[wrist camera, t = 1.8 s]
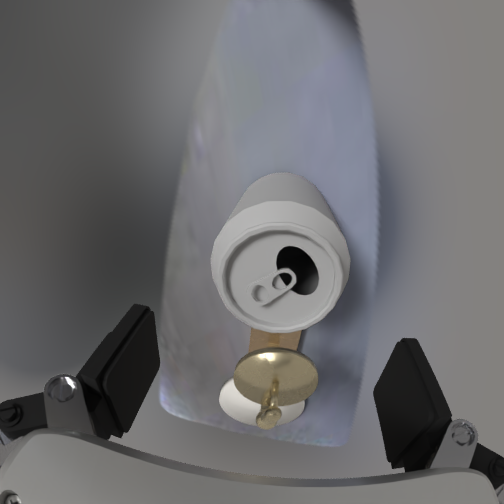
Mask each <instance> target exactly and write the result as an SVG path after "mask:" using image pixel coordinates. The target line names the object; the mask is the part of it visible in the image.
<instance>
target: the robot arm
mask: <svg viewBox="0 0 504 504" xmlns="http://www.w3.org/2000/svg"><path fill="white" fill-rule="evenodd" d="M159 367H160V357H159V350H158V342H157V335H156V326H155V317H154V312H153V311H150V308H149V307H148V306H143V305H139V304H134V305H133V306H132V307H131V308H130V310H129V311H128V312H127V313H126V315H125V316H124V317H123V318H122V320H121V321H120V322H119V324H118V325H117V326H116V327H115V329H114V330H113V331H112V332H110V333H109V334H108V335H107V336H106V337H105V338H104V340H103V341H102V342H101V344H100V345H99V346H98V348H97V349H96V350H95V351H94V353H93V354H92V355H91V357H90V358H89V359H88V361H87V362H86V363H85V365H84V366H83V368H82V369H81V370H80V371H79V373H78V374H77V376H76V377H74V376H72V375H69V374H59V375H56V376H54V377H52V378H50V379H49V380H48V381H47V382H46V384H45V387H44V392H42V393H38V394H34V395H29V396H25V397H20V398H16V399H11V400H7V401H4V402H2V403H1V404H0V504H504V458H503V457H502V456H500V455H498V454H496V453H495V452H493V451H491V450H489V449H488V448H486V447H484V446H483V445H481V444H479V443H477V441H478V433H477V430H476V428H475V427H474V426H473V425H472V423H470V422H469V421H467V420H463V419H457V420H454V421H453V422H452V419H451V416H452V414H451V411H450V409H449V407H448V404H447V402H446V400H445V397H444V395H443V393H442V390H441V388H440V386H439V384H438V381H437V379H436V377H435V375H434V373H433V371H432V368H431V366H430V365H429V363H428V360H427V358H426V356H425V354H424V352H423V350H422V348H421V346H420V344H419V342H418V340H417V339H415V338H403V339H401V341H400V342H397V344H396V345H395V348H394V350H393V352H392V354H391V356H390V358H389V360H388V362H387V364H386V366H385V369H384V370H383V372H382V374H381V376H380V378H379V380H378V382H377V384H376V386H375V388H374V391H373V395H374V400H375V404H376V408H377V413H378V417H379V421H380V426H381V431H382V436H383V440H384V445H385V450H386V456H387V460H388V462H391V466H392V469H396V468H402V467H404V469H405V473H398V474H390V475H381V476H371V477H361V478H343V479H298V478H279V477H266V476H257V475H247V474H241V473H234V472H227V471H221V470H215V469H210V468H204V467H199V466H195V465H190V464H186V463H182V462H178V461H174V460H170V459H166V458H163V457H159V456H156V455H152V454H149V453H145V452H141V451H139V450H135V449H132V448H129V447H126V446H123V445H120V444H117V443H114V442H112V441H108V439H109V438H110V436H111V435H113V436H116V437H119V438H121V437H122V435H123V433H124V432H125V433H127V432H128V431H129V430H130V428H131V426H132V423H133V421H134V419H135V417H136V415H137V413H138V411H139V409H140V407H141V405H142V402H143V400H144V398H145V396H146V394H147V392H148V390H149V388H150V386H151V384H152V382H153V380H154V378H155V376H156V374H157V372H158V370H159Z"/></svg>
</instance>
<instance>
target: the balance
mask: <svg viewBox="0 0 504 504" xmlns="http://www.w3.org/2000/svg"><path fill="white" fill-rule="evenodd" d="M301 331H302V330H299V331H296V332H292V333H269V332H265V331H262V330H258V329H254V328H251V336H250V345H249V353H248V354H246V355H245V356H244V357H242V358H241V359H240V360H239V362H238V363H237V365H236V367H235V372H234V377H233V380H234V385H235V387H236V389H237V390H238V391H239V392H240V394H242V395H243V396H244V397H245V398H247V399H249V400H250V401H253V402H255V403H258V404H261V406H260V412H259V413H258V414H257V416H256V424H257V425H258V427H260V428H262V429H265V430H268V429H271V428H273V427H274V426H275V425H276V424H277V421H278V420H279V419H280V418H281V416H282V412H281V410H280V408H278V406H288V405H293V404H296V403H299V402H301V401H303V400H305V399H307V398H308V397H309V396H311V395H312V393H313V392H314V391H315V390H316V388H317V385H318V372H317V368H316V366H315V364H314V363H313V361H312V360H311V359H310V358H309V357H307V356H306V355H304V354H302V353H300V352H298V351H297V347H298V343H299V339H300V335H301Z"/></svg>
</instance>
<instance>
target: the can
mask: <svg viewBox="0 0 504 504" xmlns="http://www.w3.org/2000/svg"><path fill="white" fill-rule="evenodd" d="M211 268H212V275H213V280H214V282H215V285H216V287H217V289H218V292H219V294H220V296H221V298H222V300H223V302H224V304H225V306H226V308H227V309H228V310H229V311H230V312H231V313H232V314H233V315H234V316H235V317H236V318H237V319H238V320H240V321H242V322H243V323H245V324H247V325H249V326H250V327H252V328H254V329H258V330H262V331H265V332H269V333H292V332H296V331H299V330H303V329H307V328H309V327H311V326H312V325H314V324H316V323H318V322H319V321H321V320H323V319H324V318H325V317H326V315H327V314H328V313H329V312H330V311H331V310H332V309H333V308H334V307H335V305H336V303H337V301H338V299H339V298H340V296H341V294H342V292H343V290H344V288H345V286H346V284H347V281H348V279H349V270H350V255H349V252H348V248H347V244H346V240H345V238H344V236H343V234H342V232H341V230H340V228H339V226H338V224H337V222H336V220H335V218H334V216H333V214H332V212H331V210H330V208H329V206H328V204H327V203H326V201H325V199H324V197H323V196H322V194H321V193H320V191H319V190H318V189H317V187H316V186H315V185H314V184H312V183H311V182H310V181H308V180H307V179H305V178H304V177H302V176H298V175H295V174H292V173H272V174H269V175H267V176H264V177H261V178H259V179H258V180H257V181H255V182H254V183H253V184H251V185H250V186H249V187H248V189H247V190H246V192H245V193H244V195H243V196H242V198H241V199H240V201H239V202H238V204H237V206H236V207H235V209H234V210H233V212H232V214H231V215H230V217H229V219H228V220H227V222H226V223H225V225H224V227H223V228H222V230H221V232H220V233H219V235H218V237H217V238H216V240H215V242H214V247H213V251H212V256H211Z"/></svg>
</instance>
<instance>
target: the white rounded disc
mask: <svg viewBox="0 0 504 504" xmlns="http://www.w3.org/2000/svg"><path fill="white" fill-rule="evenodd" d="M233 377H234V376H233ZM233 377H232V378H230V379H228V380H227V381H226V382H225V383H224V385H223V386H222V389H221V392H220V397H219V402H220V405H221V407H222V409H223V410H224V411H225V412H226V413H227V414H228V415H229V416H230V417H232V418H234V419H236V420H237V421H240V422H242V423H245V424H249V425H254V426H258V425H257V424H256V416H257V414H258V413H259V412H260V406H261V404H258V403H255V402H253V401H250V400H249V399H247V398H245V397H244V396H243V395H242V394H240V392H239V391H238V390H237V389H236V387H235V385H234V380H233ZM304 406H305V400H303V401H301V402H299V403H296V404H293V405H288V406H278V408H280V410H281V412H282V416H281V418H280V419H279V420H278V421H277V424H276V425H275V426H278V425H282V424H286V423H288V422H291V421H293V420H294V419H296V418H297V417H298V416H299V415H300V414H301V413H302V412H303V410H304Z"/></svg>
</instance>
